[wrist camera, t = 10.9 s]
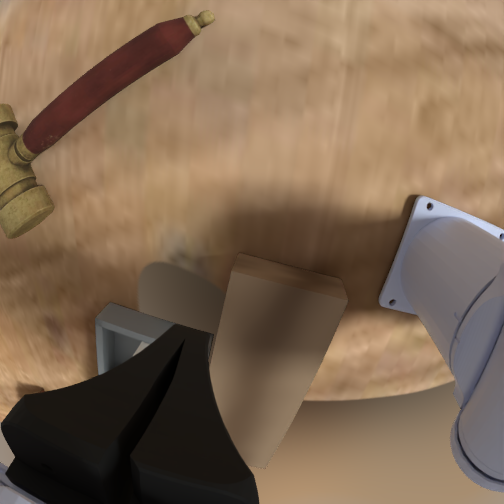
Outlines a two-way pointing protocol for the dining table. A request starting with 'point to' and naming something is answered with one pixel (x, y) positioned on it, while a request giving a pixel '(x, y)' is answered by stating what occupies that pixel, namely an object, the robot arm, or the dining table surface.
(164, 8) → the dining table surface
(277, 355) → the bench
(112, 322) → the tray
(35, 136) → the gavel
